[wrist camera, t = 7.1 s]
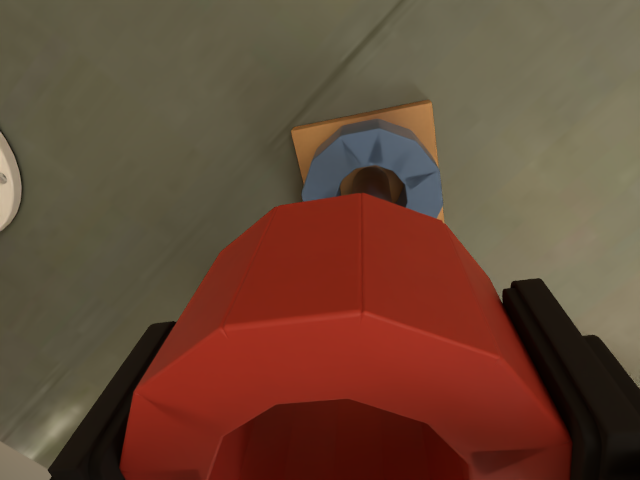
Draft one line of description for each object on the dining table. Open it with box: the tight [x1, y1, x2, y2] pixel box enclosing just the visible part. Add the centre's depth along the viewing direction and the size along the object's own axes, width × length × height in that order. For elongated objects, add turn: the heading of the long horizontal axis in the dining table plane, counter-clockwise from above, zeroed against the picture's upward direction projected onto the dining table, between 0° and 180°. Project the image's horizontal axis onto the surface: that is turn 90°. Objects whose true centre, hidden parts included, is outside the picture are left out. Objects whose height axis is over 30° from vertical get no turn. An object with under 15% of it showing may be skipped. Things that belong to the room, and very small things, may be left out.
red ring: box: [119, 193, 573, 480], centre depth 9 cm, size 7×7×4 cm
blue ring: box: [301, 119, 443, 219], centre depth 28 cm, size 8×8×3 cm
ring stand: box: [291, 100, 444, 223], centre depth 27 cm, size 9×9×8 cm
